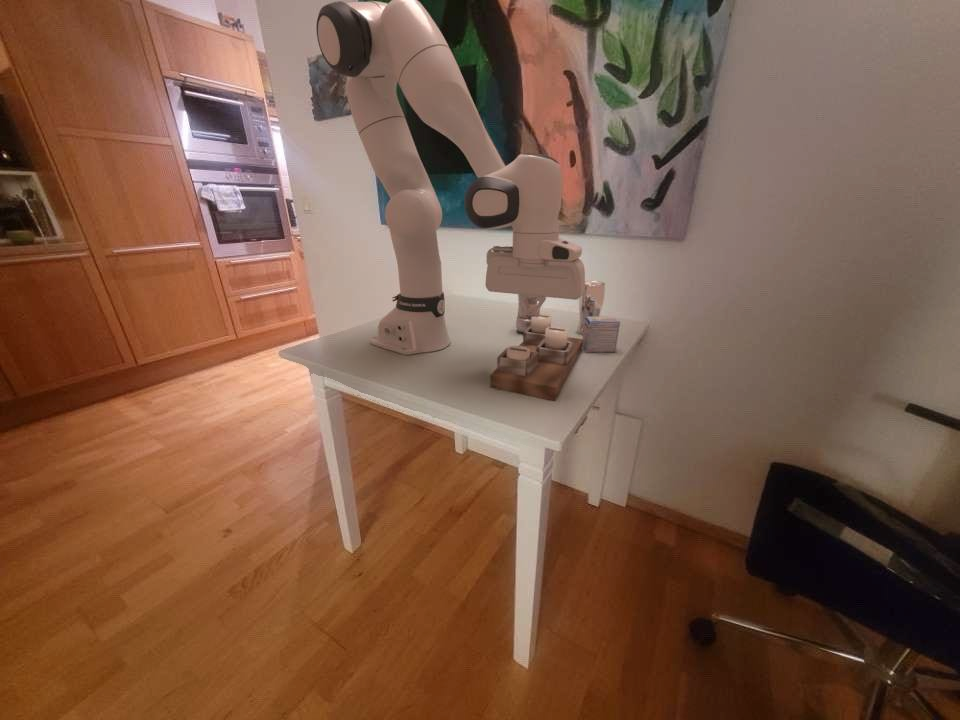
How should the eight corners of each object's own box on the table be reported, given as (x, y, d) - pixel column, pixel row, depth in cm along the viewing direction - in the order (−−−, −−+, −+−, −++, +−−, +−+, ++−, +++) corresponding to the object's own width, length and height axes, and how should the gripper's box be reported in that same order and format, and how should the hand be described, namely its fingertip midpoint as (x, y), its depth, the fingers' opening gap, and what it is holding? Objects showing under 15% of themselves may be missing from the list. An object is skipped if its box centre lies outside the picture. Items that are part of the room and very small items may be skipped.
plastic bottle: (538, 335, 108) (543, 266, 100) (516, 335, 108) (518, 266, 100) (536, 328, 114) (540, 263, 106) (514, 328, 114) (517, 263, 106)
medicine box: (609, 346, 100) (614, 315, 97) (615, 352, 96) (620, 321, 92) (581, 346, 100) (584, 316, 96) (586, 353, 96) (590, 321, 92)
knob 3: (541, 348, 83) (543, 330, 81) (547, 341, 87) (548, 324, 86) (563, 351, 81) (565, 333, 80) (568, 344, 85) (570, 327, 84)
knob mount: (490, 387, 78) (490, 361, 75) (531, 342, 103) (532, 321, 101) (555, 400, 72) (557, 373, 70) (581, 349, 98) (584, 328, 95)
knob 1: (502, 369, 79) (503, 351, 77) (510, 360, 83) (511, 343, 81) (525, 373, 77) (526, 354, 75) (531, 364, 81) (533, 346, 80)
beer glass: (604, 333, 109) (611, 283, 103) (587, 337, 106) (593, 286, 100) (587, 327, 115) (592, 279, 109) (570, 331, 112) (575, 282, 106)
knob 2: (528, 332, 93) (529, 317, 91) (534, 327, 97) (535, 312, 95) (547, 335, 91) (548, 319, 89) (552, 329, 95) (553, 314, 94)
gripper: (480, 247, 73) (480, 314, 78) (584, 251, 65) (576, 326, 70) (492, 244, 78) (492, 307, 84) (590, 247, 70) (583, 317, 75)
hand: (531, 315), depth 77 cm, fingers closed
